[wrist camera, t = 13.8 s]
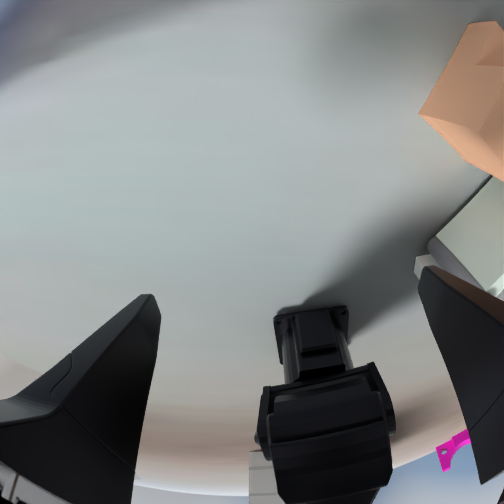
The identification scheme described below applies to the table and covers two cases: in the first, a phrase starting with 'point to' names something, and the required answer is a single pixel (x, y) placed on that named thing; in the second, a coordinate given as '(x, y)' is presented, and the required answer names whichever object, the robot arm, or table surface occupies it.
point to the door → (475, 240)
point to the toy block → (452, 448)
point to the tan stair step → (473, 98)
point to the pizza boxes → (262, 480)
